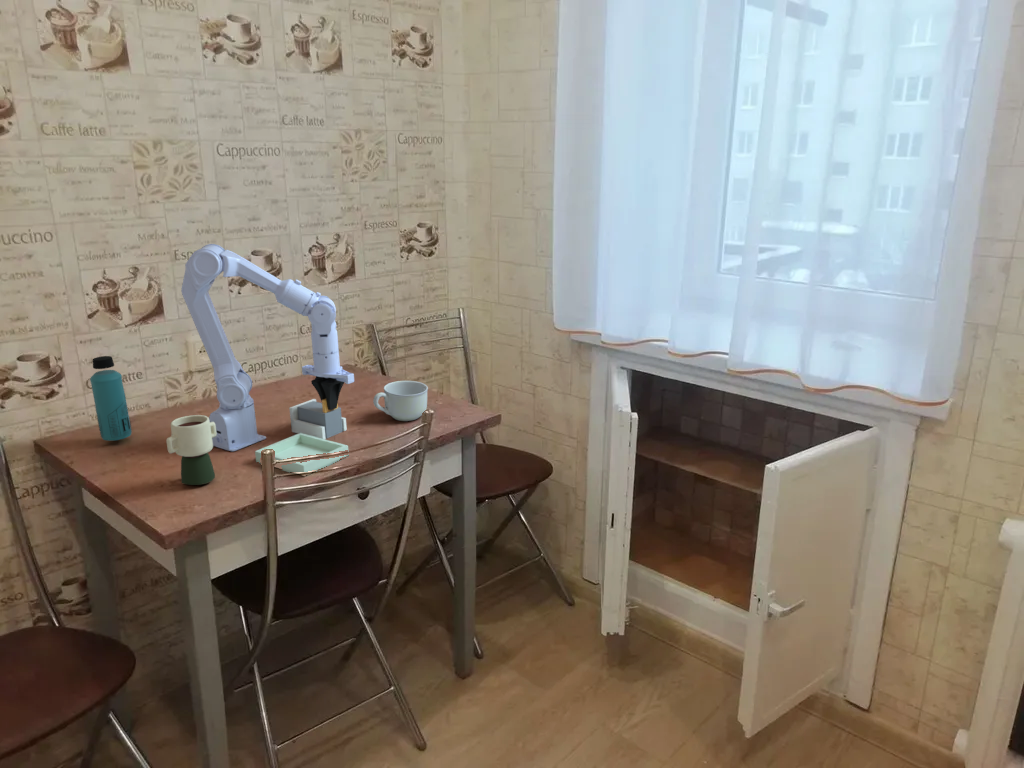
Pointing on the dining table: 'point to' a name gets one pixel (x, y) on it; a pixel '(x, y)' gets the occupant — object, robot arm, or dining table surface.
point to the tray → (304, 452)
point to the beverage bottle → (110, 401)
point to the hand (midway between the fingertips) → (330, 408)
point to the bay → (308, 424)
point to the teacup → (403, 400)
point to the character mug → (193, 447)
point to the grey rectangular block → (322, 416)
